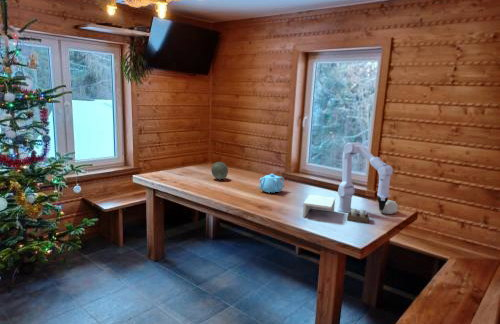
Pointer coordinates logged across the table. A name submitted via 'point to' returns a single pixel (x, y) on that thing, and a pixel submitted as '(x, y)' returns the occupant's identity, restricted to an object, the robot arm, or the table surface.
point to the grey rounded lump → (390, 207)
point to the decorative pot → (271, 183)
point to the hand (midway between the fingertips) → (381, 209)
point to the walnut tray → (358, 216)
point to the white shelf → (318, 204)
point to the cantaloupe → (219, 170)
